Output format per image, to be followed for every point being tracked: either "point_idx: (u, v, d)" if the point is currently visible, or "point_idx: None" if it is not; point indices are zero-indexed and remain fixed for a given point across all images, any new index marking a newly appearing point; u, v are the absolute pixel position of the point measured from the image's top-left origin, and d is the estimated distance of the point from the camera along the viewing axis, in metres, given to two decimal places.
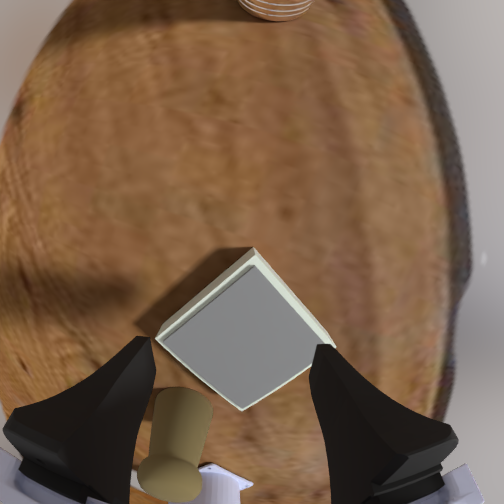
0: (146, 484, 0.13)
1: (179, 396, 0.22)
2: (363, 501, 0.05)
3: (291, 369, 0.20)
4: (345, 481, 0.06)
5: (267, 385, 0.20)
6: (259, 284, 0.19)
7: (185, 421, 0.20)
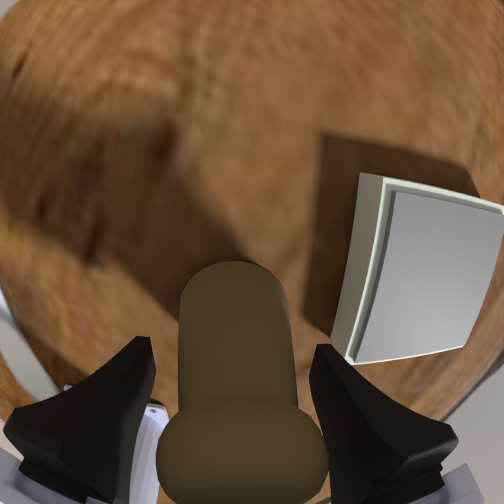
0: (234, 488, 0.04)
1: (275, 288, 0.14)
2: (363, 501, 0.05)
3: (436, 343, 0.13)
4: (345, 481, 0.06)
5: (407, 347, 0.13)
6: (498, 233, 0.11)
7: (289, 339, 0.11)
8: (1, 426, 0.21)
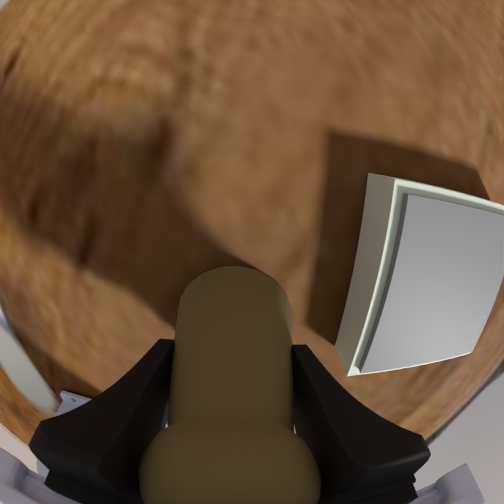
0: None
1: (277, 296, 0.13)
2: None
3: (444, 351, 0.12)
4: None
5: (415, 356, 0.12)
6: None
7: (289, 352, 0.10)
8: (2, 431, 0.21)
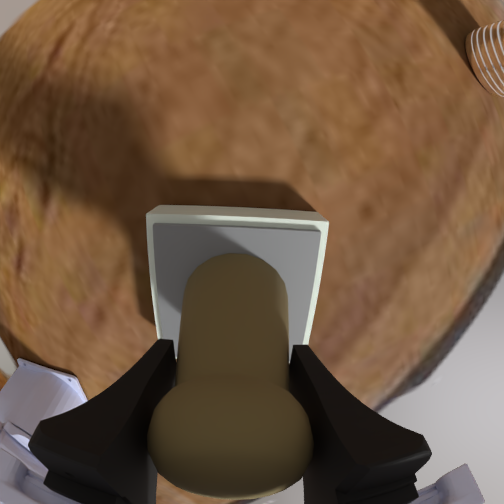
0: (224, 460, 0.05)
1: (278, 284, 0.14)
2: None
3: None
4: (315, 486, 0.06)
5: None
6: (308, 252, 0.15)
7: (287, 333, 0.12)
8: None
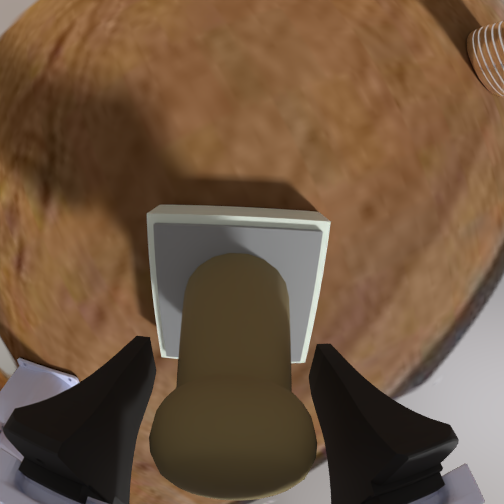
0: (228, 461, 0.05)
1: (279, 284, 0.14)
2: (363, 501, 0.05)
3: None
4: (345, 481, 0.06)
5: None
6: (309, 251, 0.15)
7: (288, 333, 0.12)
8: None
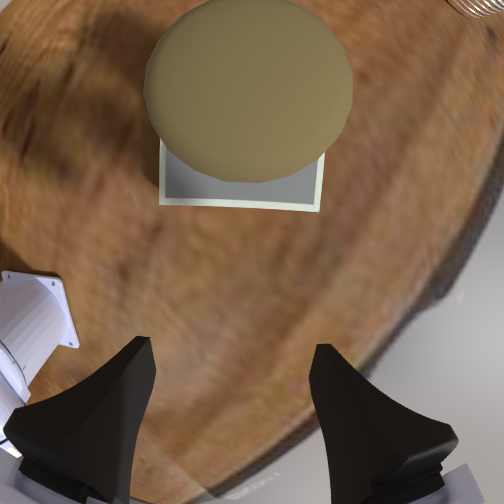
0: (249, 1, 0.04)
1: None
2: (363, 501, 0.05)
3: (260, 189, 0.16)
4: (345, 481, 0.06)
5: (219, 187, 0.16)
6: None
7: None
8: None
